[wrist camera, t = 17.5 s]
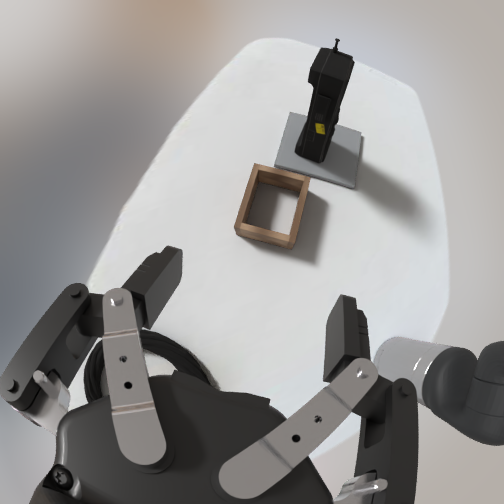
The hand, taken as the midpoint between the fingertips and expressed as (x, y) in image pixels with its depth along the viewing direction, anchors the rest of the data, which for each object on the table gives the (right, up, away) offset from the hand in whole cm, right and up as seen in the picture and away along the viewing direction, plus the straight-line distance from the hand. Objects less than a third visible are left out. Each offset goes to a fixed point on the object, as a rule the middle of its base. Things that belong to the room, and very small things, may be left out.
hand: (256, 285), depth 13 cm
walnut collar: (+3, +9, +36) cm, 37 cm away
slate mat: (+14, +23, +38) cm, 46 cm away
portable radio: (+12, +22, +37) cm, 45 cm away
